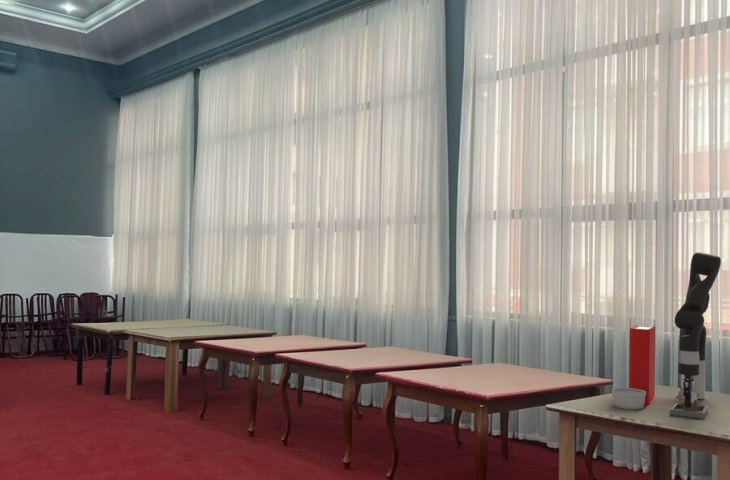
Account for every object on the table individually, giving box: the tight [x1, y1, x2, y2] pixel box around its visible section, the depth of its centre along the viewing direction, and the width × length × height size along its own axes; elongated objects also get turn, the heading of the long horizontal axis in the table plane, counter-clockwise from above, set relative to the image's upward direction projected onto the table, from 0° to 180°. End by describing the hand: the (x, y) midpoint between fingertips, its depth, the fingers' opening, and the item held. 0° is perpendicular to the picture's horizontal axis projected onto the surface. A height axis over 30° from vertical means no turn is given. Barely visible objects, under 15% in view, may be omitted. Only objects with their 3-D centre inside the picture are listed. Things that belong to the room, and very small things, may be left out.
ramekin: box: [611, 387, 646, 410], centre depth 295 cm, size 13×13×7 cm
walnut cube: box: [683, 398, 699, 412], centre depth 286 cm, size 5×5×5 cm
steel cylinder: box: [683, 391, 694, 408], centre depth 280 cm, size 4×4×6 cm
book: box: [628, 324, 656, 407], centre depth 312 cm, size 27×8×32 cm, turn 153°
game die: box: [675, 386, 700, 403], centre depth 303 cm, size 9×8×10 cm
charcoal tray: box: [669, 402, 709, 421], centre depth 283 cm, size 18×12×2 cm, turn 149°
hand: (688, 406), depth 280 cm, fingers closed on steel cylinder, 4 cm apart
